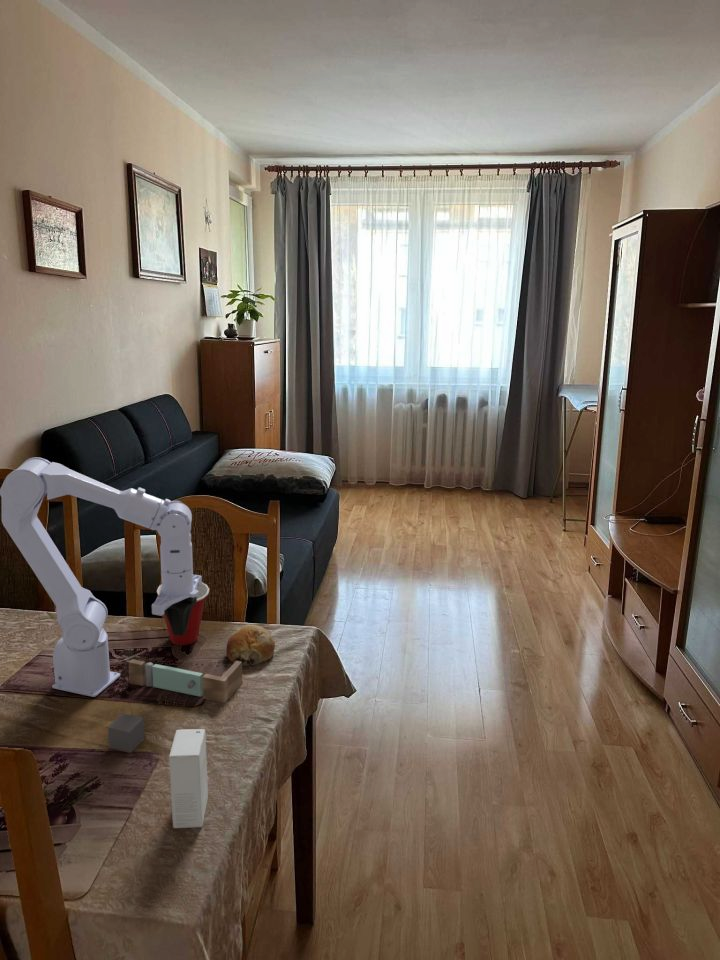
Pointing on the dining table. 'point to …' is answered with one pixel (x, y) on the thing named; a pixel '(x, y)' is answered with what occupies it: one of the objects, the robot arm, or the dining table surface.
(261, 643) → the bread roll
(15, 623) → the dining table surface
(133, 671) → the wooden blocks
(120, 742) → the gray cube block
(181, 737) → the skincare box
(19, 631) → the dining table surface
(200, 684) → the door
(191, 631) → the plastic cup
